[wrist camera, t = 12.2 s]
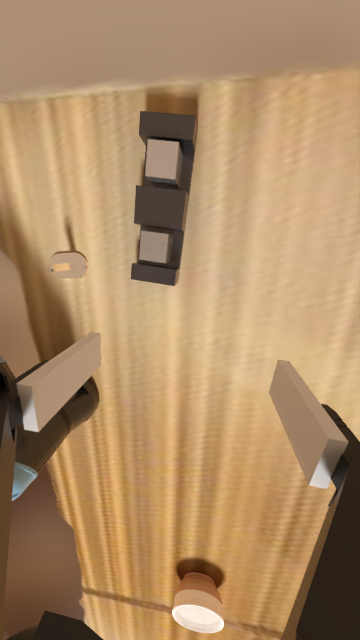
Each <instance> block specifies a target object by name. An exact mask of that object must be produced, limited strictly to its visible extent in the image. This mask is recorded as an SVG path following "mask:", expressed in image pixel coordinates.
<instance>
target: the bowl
mask: <svg viewBox="0 0 360 640" xmlns="http://www.w3.org/2000/svg"><path fill="white" fill-rule="evenodd" d="M172 615H173V617H174V619H175V620H176V621H177V622H178V623H179V624H180V625H182V626H183V627H185V628H187V629H190V630H193V631H196V632H201V633H215V632H218V631H220V630H221V629H222V628H223V626H224V621H223V617H222V602H221V597H220V594H219V592H218V590H217V588H216V586H215V583H214V581H213V580H212V579H211V578H210V577H209V576H207V575H205V574H202V573H197V572H191V573H187V574H186V575H185V576H184V578H183V580H182V581H181V582H180V584H179V585H178V588H177V590H176V595H175V602H174V607H173V610H172Z"/></svg>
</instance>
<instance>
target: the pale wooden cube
mask: <svg viewBox="0 0 360 640" xmlns="http://www.w3.org/2000/svg"><path fill="white" fill-rule="evenodd" d="M182 166H183V154H182V150H181V147H180V144H179V142H173V141H163V140H153V139H148V143H147V158H146V172H145V176H146V177H147V179H148V180H149V181H150V182H151V183H152V184H153V185H154V186H161V187H169V188H178V189H180V183H181V174H182Z"/></svg>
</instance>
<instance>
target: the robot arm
mask: <svg viewBox="0 0 360 640" xmlns="http://www.w3.org/2000/svg"><path fill="white" fill-rule="evenodd" d="M100 366H101V334H100V333H93V332H90V333H89V334H88V335H86V336H85V337H83V338H82V339H80V340H79V341H77V342H76V343H74V344H73V345H72V346H70V347H69V348H67V349H66V350H64V351H63V352H61V353H60V354H59V355H57V356H56V357H54V358H53V359H51V360H46V361H44V362H41V363H39V364H37V365H35V366H34V367H32V368H31V370H30V369H29V370H28V371H26V372H25V373H24V374H22V375H20V376H19V377H17V378H16V377H15V376H14V374H13V373H12V371H11V370H10V368H9V366H8V365H7V361H6V360H4V359H3V358H2V357H1V356H0V640H5V619H4V596H5V583H6V570H7V557H8V544H9V531H10V517H11V505H12V501H13V500H14V499H16V498H17V497H18V496H20V495H21V493H22V492H23V491H24V490H25V488H27V487H28V485H29V484H30V483H31V482H32V481H33V480H34V479H35V478H36V477H37V475H38V473H39V472H40V470H41V469H42V468H43V467H44V465H45V464H46V463H47V461H48V460H49V459H50V457H51V456H52V455H53V453H54V452H55V451H56V450H57V448H58V447H59V446H60V444H61V443H62V442H63V440H64V439H65V438H66V436H67V435H68V434H69V433H70V432H71V431H72V430H74V429H75V428H76V427H78V426H79V425H80V424H82V423H83V422H85V421H86V420H88V419H89V418H90V417H91V416H92V414H93V413H94V412H95V410H96V409H97V407H98V403H99V396H98V392H97V389H96V387H95V386H94V384H93V383H92V381H91V380H90V379H89V378H90V377H91V376H92V375H93V373H94V372H95V371H96V370H97V369H98V368H99V367H100ZM269 394H270V396H271V398H272V401H273V403H274V405H275V408H276V410H277V412H278V415H279V417H280V419H281V422H282V424H283V426H284V429H285V431H286V433H287V436H288V438H289V440H290V443H291V445H292V447H293V450H294V452H295V454H296V457H297V459H298V461H299V463H300V466H301V468H302V470H303V473H304V475H305V477H306V480H307V482H308V484H309V485H310V486H315V487H320V488H325V489H327V487H328V485H329V483H330V481H331V479H332V481H333V483H334V485H335V487H336V491H335V493H334V495H333V497H332V499H331V501H330V503H329V505H328V506H329V509H328V512H327V514H326V517H325V520H324V523H323V525H322V528H321V531H320V534H319V537H318V539H317V542H316V545H315V548H314V550H313V553H312V556H311V559H310V561H309V564H308V567H307V570H306V572H305V575H304V578H303V581H302V584H301V586H300V589H299V592H298V595H297V597H296V600H295V603H294V606H293V608H292V611H291V614H290V617H289V619H288V622H287V625H286V628H285V630H284V633H283V636H282V639H281V640H360V442H359V440H358V439H357V438H356V437H355V435H354V434H353V433H352V432H351V430H350V429H349V428H347V425H346V424H345V423H344V422H343V421H342V419H341V418H340V416H339V415H338V414H337V413H336V412H335V411H334V410H333V409H331V408H330V407H329V406H328V405H324V404H320V402H319V401H318V400H317V398H316V397H315V396H314V394H313V393H312V392H311V390H310V389H309V387H308V386H307V385H306V383H305V382H304V381H303V379H302V378H301V377H300V375H299V374H298V373H297V371H296V370H295V368H294V367H293V366H292V364H291V363H290V362H289V361H283V360H278V362H277V365H276V369H275V373H274V376H273V380H272V383H271V387H270V390H269ZM7 640H103V639H102V638H101V637H100V636H98V635H97V634H96V633H95V632H94V631H93V630H92V629H91V628H89V627H88V626H87V625H86V624H85V623H84V622H83V621H81V620H77V619H73V618H70V617H66V616H63V615H59V614H56V613H52V612H48V611H45V612H44V614H43V616H42V619H41V621H40V623H39V625H38V626H34V627H31V628H29V629H26V630H23V631H21V632H19V633H17V634H15V635H13V636H12V637H10V638H8V639H7Z"/></svg>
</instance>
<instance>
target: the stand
mask: <svg viewBox="0 0 360 640" xmlns="http://www.w3.org/2000/svg"><path fill="white" fill-rule="evenodd" d="M48 269H49V270H50V271H51V272H54V273H55V274H56V275H57V276H58V277H60V278H80V277H83V276H85V275H86V274H87V272H88V262H87V260H86V259H85V257H84V256H83V255H81V254H79V253H59V254H55V255H54V256H53V257H52V259H51V265H49V267H48Z"/></svg>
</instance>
